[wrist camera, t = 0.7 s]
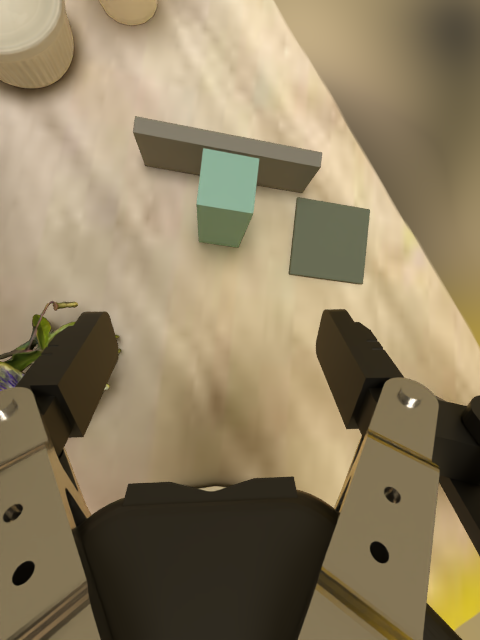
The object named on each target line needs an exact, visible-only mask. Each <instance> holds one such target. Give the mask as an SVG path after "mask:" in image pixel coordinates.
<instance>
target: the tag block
mask: <svg viewBox="0 0 480 640" xmlns="http://www.w3.org/2000/svg"><path fill="white" fill-rule="evenodd" d="M258 166H259V158H253V157H248V156H243V155H237V154H232V153H227V152H221V151H216V150H210V149H205V148H203V154H202V162H201V171H200V179H199V188H198V196H197V220H198V237H199V242H203V243H210V244H217V245H224V246H230V247H237V248H238V247H239V245H240V243H241V240H242V238H243V236H244V234H245V231H246V229H247V227H248V224H249V222H250V220H251V218H252V215H253V211H254V202H255V193H256V184H257V175H258Z"/></svg>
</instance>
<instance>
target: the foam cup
mask: <svg viewBox="0 0 480 640" xmlns="http://www.w3.org/2000/svg"><path fill="white" fill-rule="evenodd" d="M99 1H100V3H101V5H102V7H103V8H104V10H105V12H106V13H107V15H109V16H110V17H111V18H113V19H114V20H116V21H117V22H118V23H122V24H126V25H131V26H133V25H138V24H143V23H145V22H146V21H148V20H149V19H150V18H151V17H153V16H154V13H155V11H156V8H157V6H158V1H157V0H99Z"/></svg>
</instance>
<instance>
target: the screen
mask: <svg viewBox="0 0 480 640" xmlns="http://www.w3.org/2000/svg"><path fill="white" fill-rule="evenodd" d="M133 133H134V136H135V139H136V142H137V144H138V147H139V150H140V153H141V155H142V158H143V161H144V163H145V166H151V167H156V168H162V169H168V170H173V171H179V172H185V173H191V174H196V175H200V171H201V162H202V154H203V148H205V149H210V150H216V151H221V152H227V153H232V154H237V155H243V156H248V157H253V158H259V166H258V175H257V184H256V185H259V186H265V187H271V188H276V189H282V190H288V191H294V192H299V193H302V192H303V191H304V189H305V188H306V187H307V185H308V184H309V183H310V181H311V180H312V178H313V177H314V176H315V174H316V173H317V172H318V170H319V169H320V168H321V159H322V152H317V151H311V150H306V149H301V148H296V147H291V146H286V145H281V144H275V143H270V142H265V141H260V140H255V139H250V138H245V137H239V136H234V135H229V134H224V133H219V132H214V131H209V130H203V129H198V128H193V127H188V126H183V125H178V124H173V123H167V122H162V121H157V120H152V119H147V118H142V117H137V116H135V120H134V128H133Z"/></svg>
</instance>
